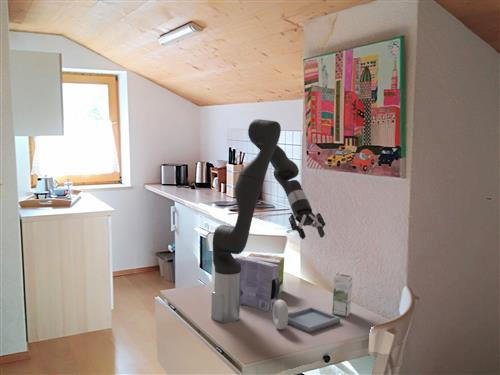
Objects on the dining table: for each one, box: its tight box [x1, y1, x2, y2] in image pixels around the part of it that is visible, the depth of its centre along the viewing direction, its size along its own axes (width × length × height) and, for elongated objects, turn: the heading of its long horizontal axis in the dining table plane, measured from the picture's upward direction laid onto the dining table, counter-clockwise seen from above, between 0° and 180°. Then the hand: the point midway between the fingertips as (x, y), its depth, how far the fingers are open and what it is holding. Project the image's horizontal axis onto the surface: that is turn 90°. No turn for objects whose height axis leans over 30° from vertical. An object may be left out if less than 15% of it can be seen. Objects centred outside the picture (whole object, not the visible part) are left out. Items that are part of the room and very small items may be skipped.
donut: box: [272, 299, 289, 331], centre depth 175 cm, size 10×4×10 cm, turn 13°
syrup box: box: [331, 273, 353, 317], centre depth 191 cm, size 6×6×14 cm
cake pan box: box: [234, 255, 280, 313], centre depth 196 cm, size 19×5×18 cm, turn 54°
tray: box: [287, 306, 341, 334], centre depth 182 cm, size 16×14×2 cm
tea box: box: [246, 252, 285, 296], centre depth 214 cm, size 15×10×15 cm, turn 73°
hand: (313, 237), depth 199 cm, fingers open, 8 cm apart
